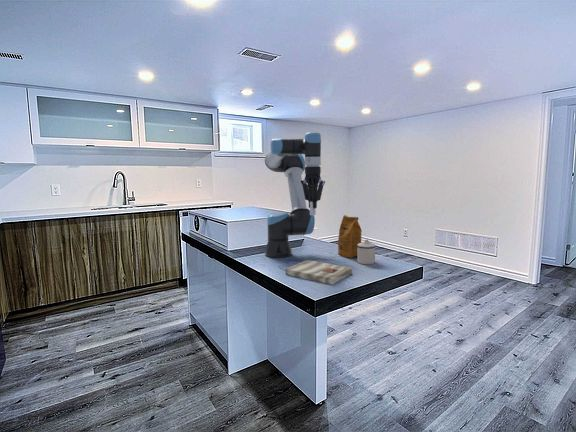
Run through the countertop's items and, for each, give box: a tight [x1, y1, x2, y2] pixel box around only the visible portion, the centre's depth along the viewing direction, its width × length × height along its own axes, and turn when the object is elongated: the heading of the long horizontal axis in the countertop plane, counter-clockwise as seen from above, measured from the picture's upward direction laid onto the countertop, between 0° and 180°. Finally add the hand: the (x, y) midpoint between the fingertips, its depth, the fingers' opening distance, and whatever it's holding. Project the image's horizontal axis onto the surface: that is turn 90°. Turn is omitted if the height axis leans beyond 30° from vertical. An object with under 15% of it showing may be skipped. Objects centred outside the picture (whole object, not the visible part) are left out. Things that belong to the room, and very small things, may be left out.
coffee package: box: [337, 214, 362, 259], centre depth 174 cm, size 10×12×22 cm
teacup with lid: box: [356, 239, 377, 265], centre depth 162 cm, size 12×9×12 cm
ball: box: [324, 267, 333, 273], centre depth 140 cm, size 4×4×4 cm
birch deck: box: [285, 259, 353, 285], centre depth 144 cm, size 24×18×2 cm
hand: (312, 214), depth 155 cm, fingers closed
